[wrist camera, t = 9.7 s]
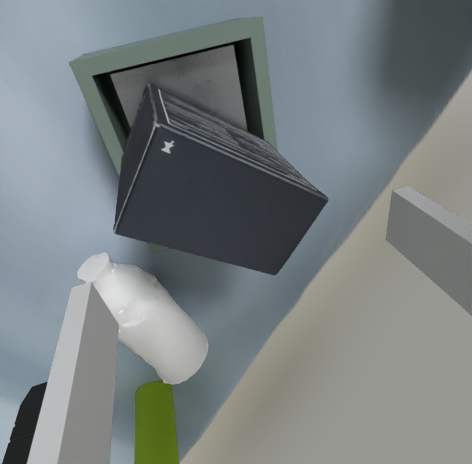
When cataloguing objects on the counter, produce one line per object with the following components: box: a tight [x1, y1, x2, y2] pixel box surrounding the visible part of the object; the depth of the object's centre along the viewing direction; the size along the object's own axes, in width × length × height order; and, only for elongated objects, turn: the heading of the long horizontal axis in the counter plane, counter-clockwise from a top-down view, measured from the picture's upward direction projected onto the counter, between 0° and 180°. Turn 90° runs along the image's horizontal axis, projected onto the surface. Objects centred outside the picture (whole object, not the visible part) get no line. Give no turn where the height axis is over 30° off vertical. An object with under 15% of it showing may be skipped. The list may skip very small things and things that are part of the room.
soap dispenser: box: [135, 382, 179, 464], centre depth 44 cm, size 6×7×20 cm
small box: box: [113, 83, 328, 275], centre depth 21 cm, size 11×6×10 cm, turn 62°
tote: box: [69, 17, 277, 254], centre depth 28 cm, size 13×16×7 cm
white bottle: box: [77, 252, 208, 385], centre depth 37 cm, size 8×19×8 cm, turn 24°
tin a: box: [110, 43, 248, 132], centre depth 26 cm, size 9×6×5 cm
